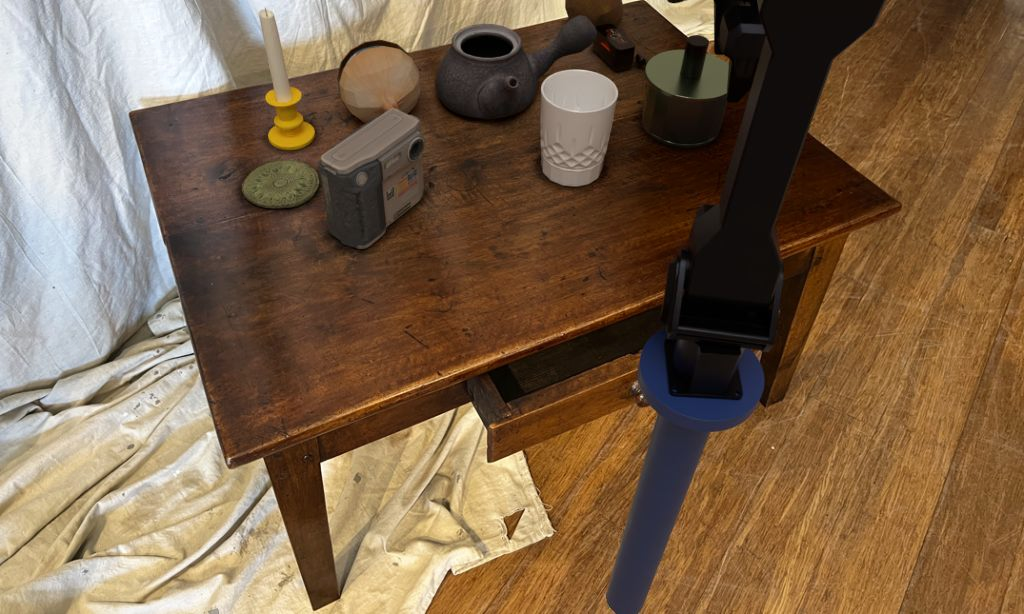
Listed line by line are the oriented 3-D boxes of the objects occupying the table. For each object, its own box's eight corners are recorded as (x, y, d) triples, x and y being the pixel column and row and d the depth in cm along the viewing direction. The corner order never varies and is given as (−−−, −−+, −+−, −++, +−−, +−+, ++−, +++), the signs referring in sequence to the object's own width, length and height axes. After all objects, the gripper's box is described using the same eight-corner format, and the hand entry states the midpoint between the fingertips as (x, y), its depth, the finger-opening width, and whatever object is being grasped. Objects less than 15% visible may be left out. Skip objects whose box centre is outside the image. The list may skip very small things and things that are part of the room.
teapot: (459, 150, 90) (457, 71, 83) (424, 78, 100) (420, 2, 92) (611, 122, 95) (622, 45, 87) (563, 56, 104) (570, -18, 97)
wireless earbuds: (618, 76, 101) (622, 53, 99) (590, 49, 105) (593, 27, 103) (649, 69, 102) (653, 46, 100) (620, 42, 107) (624, 20, 104)
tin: (723, 150, 91) (737, 101, 87) (644, 146, 92) (653, 97, 87) (714, 105, 98) (726, 57, 93) (639, 101, 98) (647, 53, 93)
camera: (359, 257, 78) (347, 176, 70) (318, 232, 80) (302, 151, 73) (436, 199, 84) (432, 119, 77) (396, 177, 86) (388, 97, 79)
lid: (740, 109, 87) (752, 67, 83) (647, 104, 87) (654, 62, 83) (727, 60, 94) (738, 19, 90) (641, 55, 94) (648, 14, 90)
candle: (323, 128, 92) (300, 0, 80) (302, 154, 89) (275, 24, 77) (282, 119, 93) (254, -9, 81) (260, 145, 90) (227, 15, 78)
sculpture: (394, 16, 94) (423, 49, 82) (416, 90, 99) (445, 132, 87) (318, 40, 92) (336, 77, 81) (345, 114, 98) (365, 159, 86)
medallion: (226, 196, 83) (225, 190, 83) (274, 155, 88) (272, 149, 88) (289, 219, 81) (287, 214, 80) (334, 176, 86) (333, 171, 85)
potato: (606, -41, 110) (553, -25, 111) (623, -37, 99) (563, -19, 100) (619, 18, 114) (567, 34, 114) (636, 28, 103) (578, 46, 103)
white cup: (531, 148, 91) (536, 70, 83) (599, 145, 91) (610, 67, 84) (540, 192, 85) (546, 113, 78) (612, 189, 86) (625, 110, 79)
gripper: (664, -126, 76) (640, 28, 87) (685, -43, 63) (653, 125, 74) (781, -120, 76) (741, 33, 87) (825, -36, 63) (772, 131, 74)
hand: (725, 77), depth 81 cm, fingers open, 9 cm apart
